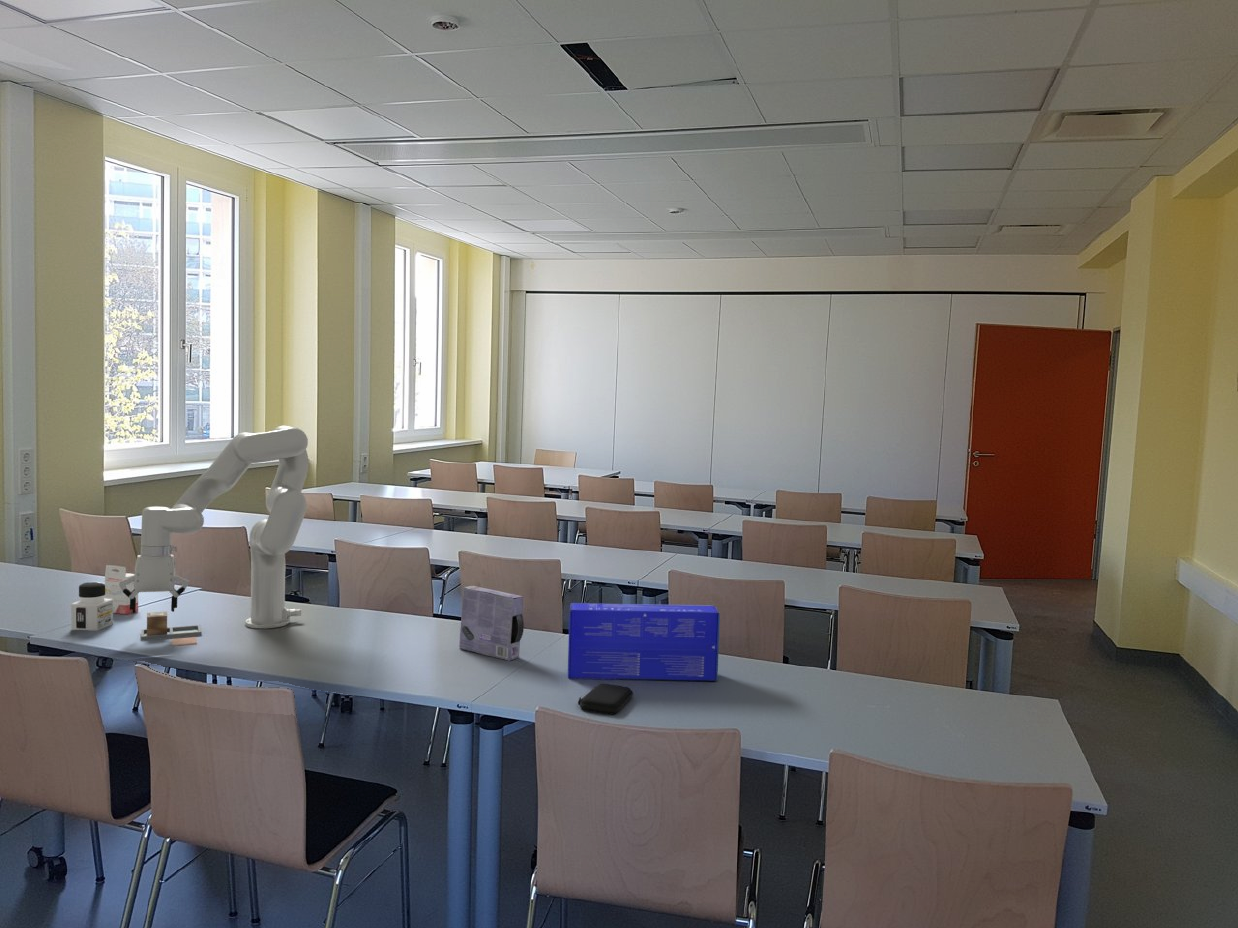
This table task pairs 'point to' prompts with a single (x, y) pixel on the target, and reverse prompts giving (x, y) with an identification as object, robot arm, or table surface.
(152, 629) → the brown labeled box
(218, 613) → the table surface
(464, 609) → the cake pan box
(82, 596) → the container
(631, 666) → the toner cartridge box
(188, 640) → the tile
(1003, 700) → the table surface
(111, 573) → the ink cartridge box
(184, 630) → the cubby strip
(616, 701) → the carrying case or bag
